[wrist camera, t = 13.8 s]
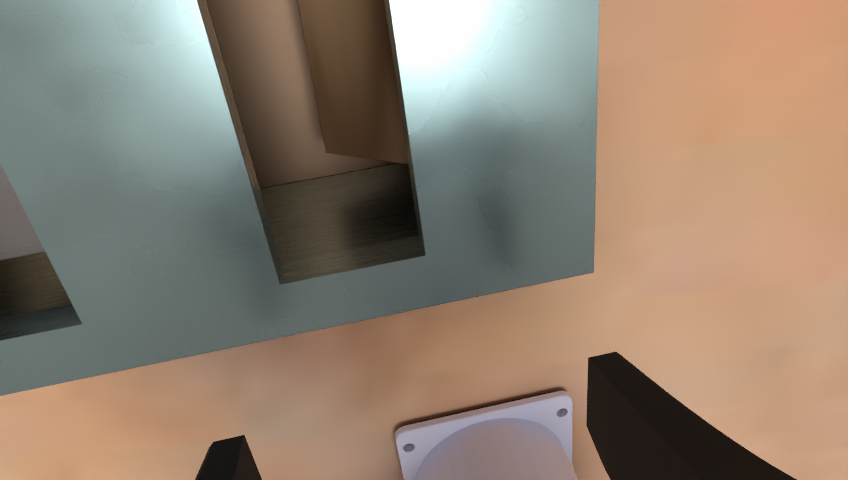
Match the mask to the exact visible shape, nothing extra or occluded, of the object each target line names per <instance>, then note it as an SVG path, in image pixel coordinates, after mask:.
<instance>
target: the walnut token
mask: <svg viewBox="0 0 848 480" xmlns="http://www.w3.org/2000/svg"><path fill="white" fill-rule="evenodd" d="M298 5H299V10H300V16H301V21H302V26H303V32H304V37H305V42H306V48H307V53H308V58H309V64H310V69H311V74H312V80H313V85H314V90H315V96H316V101H317V106H318V112H319V117H320V122H321V128H322V133H323V138H324V144H325V149H326V153H333V154H340V155H347V156H354V157H361V158H369V159H376V160H383V161H390V162H397V163H404V164H408V159H407V152H406V145H405V138H404V132H403V125H402V118H401V111H400V104H399V97H398V91H397V84H396V77H395V70H394V63H393V56H392V50H391V43H390V36H389V29H388V22H387V15H386V9H385V2H384V0H298Z"/></svg>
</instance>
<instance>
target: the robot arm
mask: <svg viewBox="0 0 848 480" xmlns="http://www.w3.org/2000/svg"><path fill="white" fill-rule="evenodd" d="M562 408H563V409H562ZM560 409H562V410H560ZM558 410H559V411H558ZM587 428H588V430H589V433H590V435H591V437H592V440H593V442H594V445H595V447H596V449H597V452H598V454H599V456H600V459H601V461H602V463H603V465H604V468H605V470H606V472H607V474H608V475H609V477H610V479H611V480H796V479H794V478H793V477H791V476H789V475H788V474H786V473H784V472H782V471H781V470H779V469H777V468H775V467H774V466H772V465H770V464H769V463H767V462H766V461H764V460H762V459H761V458H759V457H758V456H756V455H755V454H753V453H751V452H750V451H748V450H747V449H745V448H744V447H742V446H741V445H739V444H738V443H736V442H735V441H733V440H732V439H730V438H729V437H727V436H726V435H725V434H723V433H722V432H720V431H719V430H717V429H716V428H715V427H713V426H712V425H710V424H709V423H708V422H706V421H705V420H703V419H702V418H701V417H699V416H698V415H697V414H695V413H694V412H693V411H691V410H690V409H689V408H687V407H686V406H684V405H683V404H682V403H680V402H679V401H678V400H677V399H675V398H674V397H673V396H671V395H670V394H669V393H668V392H666V391H665V390H664V389H662V388H661V387H660V386H659V385H657V384H656V383H655V382H654V381H652V380H651V379H650V378H649V377H647V376H646V375H645V374H644V373H642V372H641V371H640V370H639V369H637V368H636V367H635V366H634V365H632V364H631V363H630V362H629V361H628V360H626V359H625V358H624V357H623V356H621V355H620V354H619V353H617V352H612V353H608V354H604V355H599V356H595V357H590V358H588V391H587ZM395 440H396V445H397V450H398V454H399V459H400V464H401V469H402V474H403V478H404V480H579V479H578V477H577V475H576V473H575V471H574V469H573V467H572V398H571V397H570V395H569V393H568V392H566V391H557V392H552V393H548V394H543V395H539V396H534V397H530V398H526V399H521V400H517V401H512V402H508V403H503V404H499V405H494V406H490V407H486V408H481V409H477V410H472V411H468V412H463V413H459V414H454V415H450V416H446V417H441V418H437V419H432V420H428V421H423V422H419V423H414V424H410V425H406V426H402V427H400V428H399V429H398V430H397V431H396V432H395ZM409 443H411V444H410V445H406V444H409ZM195 480H262V479H261V476H260V474H259V471H258V469H257V466H256V464H255V461H254V459H253V456H252V453H251V451H250V448H249V446H248V443H247V441H246V438H245V436H244V435H242V436H238V437H233V438H229V439H224V440H220V441H216V442H213V443H212V445H211V446H210V447H209V449H208V452H207V454H206V456H205V459H204V461H203V463H202V465H201V468H200V470H199V472H198V474H197V477H196V479H195Z"/></svg>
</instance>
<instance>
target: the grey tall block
mask: <svg viewBox="0 0 848 480" xmlns="http://www.w3.org/2000/svg"><path fill="white" fill-rule="evenodd" d="M44 251H45V250H44V248H43V246H42V244H41V242H40V240H39V238H38V236H37V234H36V232H35V230H34V228H33V226H32V224H31V222H30V220H29V218H28V216H27V215H26V213H25V211H24V209H23V207H22V205H21V203H20V201H19V199H18V197H17V195H16V193H15V191H14V189H13V187H12V185H11V183H10V181H9V179H8V177H7V175H6V173H5V171H4V169H3V167H2V165H1V163H0V260H4V259H9V258H14V257H19V256H24V255H29V254H34V253H39V252H44Z"/></svg>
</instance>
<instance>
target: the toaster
mask: <svg viewBox="0 0 848 480" xmlns="http://www.w3.org/2000/svg"><path fill="white" fill-rule="evenodd" d="M384 2H385V9H386V15H387V22H388V29H389V36H390V43H391V50H392V56H393V63H394V70H395V77H396V84H397V91H398V97H399V104H400V111H401V118H402V125H403V132H404V138H405V145H406V152H407V159H408V164H404V163H397V164H392V165H386V166H381V167H376V168H370V169H365V170H359V171H354V172H349V173H343V174H338V175H332V176H327V177H322V178H316V179H311V180H305V181H300V182H295V183H289V184H284V185H278V186H273V187H267V188H262V189H260V188H259V184H258V181H257V177H256V174H255V170H254V167H253V163H252V160H251V156H250V153H249V149H248V146H247V142H246V139H245V135H244V132H243V128H242V125H241V121H240V118H239V114H238V111H237V107H236V104H235V100H234V97H233V93H232V90H231V86H230V83H229V79H228V76H227V72H226V69H225V65H224V62H223V58H222V55H221V51H220V48H219V44H218V41H217V37H216V34H215V30H214V27H213V23H212V20H211V16H210V13H209V9H208V6H207V2H206V0H0V163H1V165H2V167H3V169H4V171H5V173H6V175H7V177H8V179H9V181H10V183H11V185H12V187H13V189H14V191H15V193H16V195H17V197H18V199H19V201H20V203H21V205H22V207H23V209H24V211H25V213H26V215H27V216H28V218H29V220H30V222H31V224H32V226H33V228H34V230H35V232H36V234H37V236H38V238H39V240H40V242H41V244H42V246H43V248H44V250H45V251H44V252H39V253H34V254H29V255H24V256H19V257H14V258H9V259H4V260H0V396H1V395H6V394H11V393H16V392H20V391H25V390H30V389H35V388H40V387H45V386H49V385H54V384H59V383H64V382H69V381H73V380H78V379H83V378H88V377H93V376H97V375H102V374H107V373H112V372H117V371H122V370H126V369H131V368H136V367H141V366H146V365H150V364H155V363H160V362H165V361H170V360H175V359H179V358H184V357H189V356H194V355H199V354H203V353H208V352H213V351H218V350H223V349H227V348H232V347H237V346H242V345H247V344H252V343H256V342H261V341H266V340H271V339H276V338H280V337H285V336H290V335H295V334H300V333H304V332H309V331H314V330H319V329H324V328H329V327H333V326H338V325H343V324H348V323H353V322H357V321H362V320H367V319H372V318H377V317H381V316H386V315H391V314H396V313H401V312H406V311H410V310H415V309H420V308H425V307H430V306H434V305H439V304H444V303H449V302H454V301H458V300H463V299H468V298H473V297H478V296H483V295H487V294H492V293H497V292H502V291H507V290H511V289H516V288H521V287H526V286H531V285H535V284H540V283H545V282H550V281H555V280H560V279H564V278H569V277H574V276H579V275H584V274H588V273H593V272H594V233H595V184H596V136H597V87H598V39H599V0H384Z"/></svg>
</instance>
